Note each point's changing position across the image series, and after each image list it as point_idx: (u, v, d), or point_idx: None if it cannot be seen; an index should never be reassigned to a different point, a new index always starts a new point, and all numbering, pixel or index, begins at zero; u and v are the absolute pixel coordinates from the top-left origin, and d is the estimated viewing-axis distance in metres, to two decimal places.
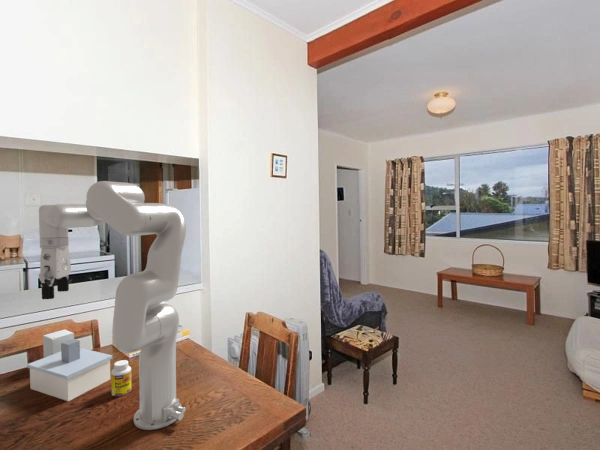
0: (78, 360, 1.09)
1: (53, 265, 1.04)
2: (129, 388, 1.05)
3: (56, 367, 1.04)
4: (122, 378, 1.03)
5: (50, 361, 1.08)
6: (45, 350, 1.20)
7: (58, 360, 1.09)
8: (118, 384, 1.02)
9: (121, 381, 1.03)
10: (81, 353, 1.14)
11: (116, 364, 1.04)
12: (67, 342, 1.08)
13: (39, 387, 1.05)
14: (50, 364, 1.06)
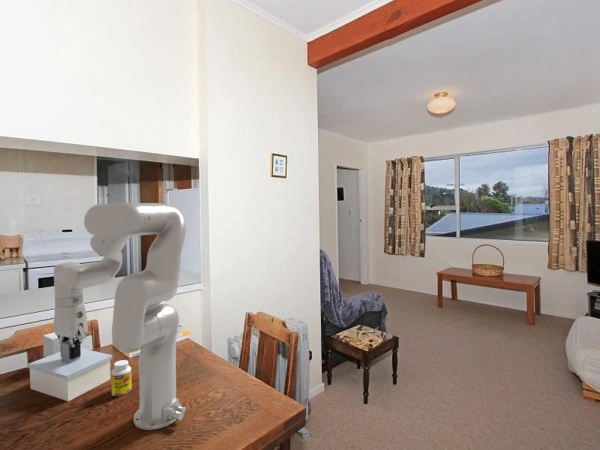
0: (78, 360, 1.09)
1: (85, 321, 1.08)
2: (129, 388, 1.05)
3: (56, 367, 1.04)
4: (122, 378, 1.03)
5: (50, 361, 1.08)
6: (45, 350, 1.20)
7: (58, 360, 1.09)
8: (118, 384, 1.02)
9: (121, 381, 1.03)
10: (81, 353, 1.14)
11: (116, 364, 1.04)
12: (67, 342, 1.08)
13: (39, 387, 1.05)
14: (50, 364, 1.06)
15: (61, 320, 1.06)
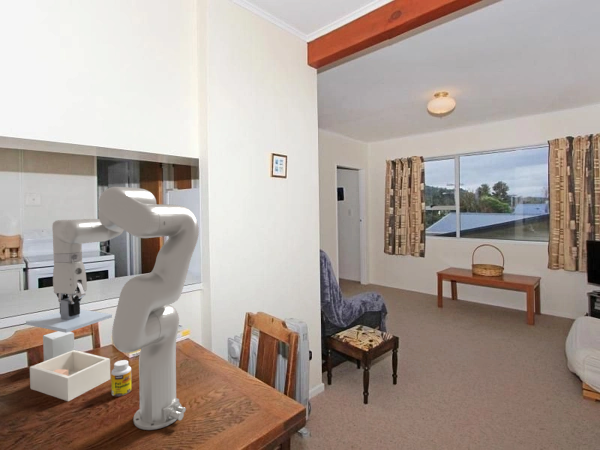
0: (77, 318, 1.08)
1: (84, 278, 1.07)
2: (129, 388, 1.05)
3: (55, 323, 1.03)
4: (122, 378, 1.03)
5: (49, 319, 1.07)
6: (45, 350, 1.20)
7: (57, 318, 1.08)
8: (118, 384, 1.02)
9: (121, 381, 1.03)
10: (80, 313, 1.13)
11: (116, 364, 1.04)
12: (66, 299, 1.07)
13: (39, 387, 1.05)
14: (49, 321, 1.05)
15: (59, 276, 1.05)
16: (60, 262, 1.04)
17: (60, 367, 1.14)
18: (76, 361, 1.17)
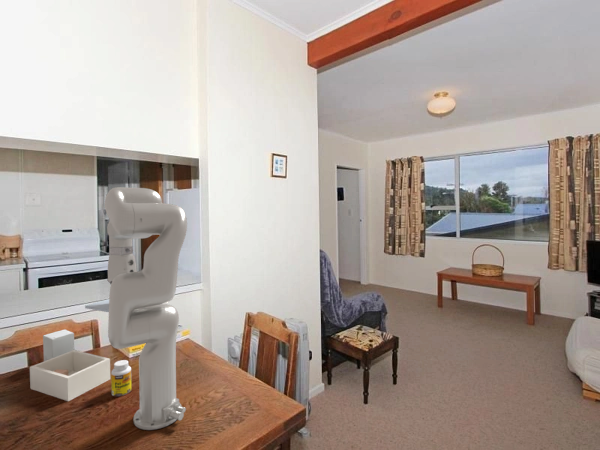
0: None
1: (135, 269, 1.23)
2: (129, 388, 1.05)
3: None
4: (122, 378, 1.03)
5: (104, 304, 1.23)
6: (45, 350, 1.20)
7: None
8: (118, 384, 1.02)
9: (121, 381, 1.03)
10: None
11: (116, 364, 1.04)
12: None
13: (39, 387, 1.05)
14: (105, 305, 1.21)
15: (114, 267, 1.21)
16: (116, 254, 1.20)
17: (60, 367, 1.14)
18: (76, 361, 1.17)
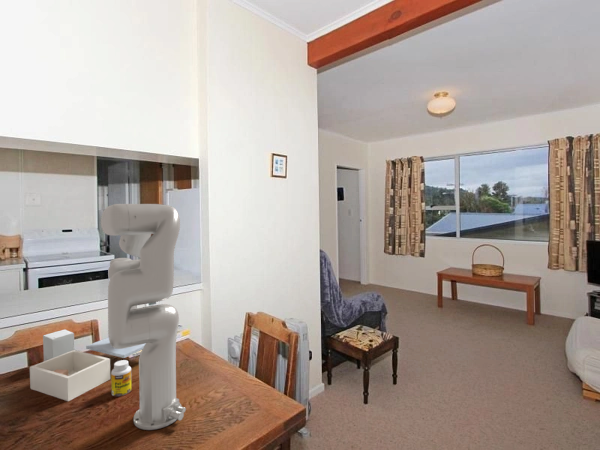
0: None
1: (136, 309, 1.24)
2: (129, 388, 1.05)
3: (112, 348, 1.20)
4: (122, 378, 1.03)
5: (105, 343, 1.24)
6: (45, 350, 1.20)
7: None
8: (118, 384, 1.02)
9: (121, 381, 1.03)
10: None
11: (116, 364, 1.04)
12: None
13: (39, 387, 1.05)
14: (106, 346, 1.22)
15: None
16: None
17: (60, 367, 1.14)
18: (76, 361, 1.17)
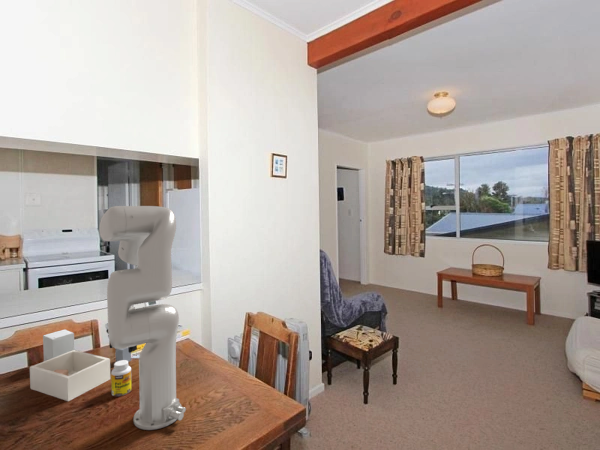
0: None
1: None
2: (129, 388, 1.05)
3: None
4: (122, 378, 1.03)
5: None
6: (45, 350, 1.20)
7: None
8: (118, 384, 1.02)
9: (121, 381, 1.03)
10: (130, 357, 1.30)
11: (116, 364, 1.04)
12: None
13: (39, 387, 1.05)
14: None
15: None
16: None
17: (60, 367, 1.14)
18: (76, 361, 1.17)
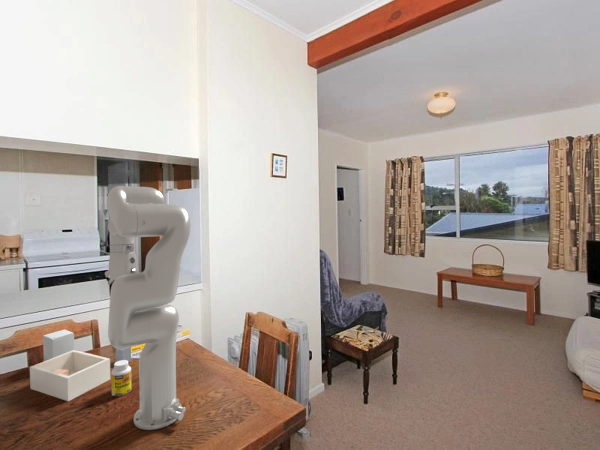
0: None
1: (136, 267, 1.21)
2: (129, 388, 1.05)
3: None
4: (122, 378, 1.03)
5: None
6: (45, 350, 1.20)
7: None
8: (118, 384, 1.02)
9: (121, 381, 1.03)
10: (130, 357, 1.30)
11: (116, 364, 1.04)
12: None
13: (39, 387, 1.05)
14: None
15: (115, 265, 1.19)
16: (117, 252, 1.18)
17: (60, 367, 1.14)
18: (76, 361, 1.17)
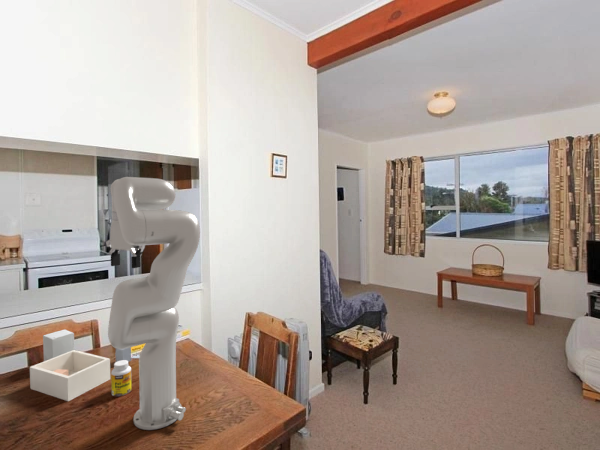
0: None
1: None
2: (129, 388, 1.05)
3: None
4: (122, 378, 1.03)
5: None
6: (45, 350, 1.20)
7: None
8: (118, 384, 1.02)
9: (121, 381, 1.03)
10: (130, 357, 1.30)
11: (116, 364, 1.04)
12: None
13: (39, 387, 1.05)
14: None
15: (117, 233, 1.13)
16: (119, 220, 1.11)
17: (60, 367, 1.14)
18: (76, 361, 1.17)
